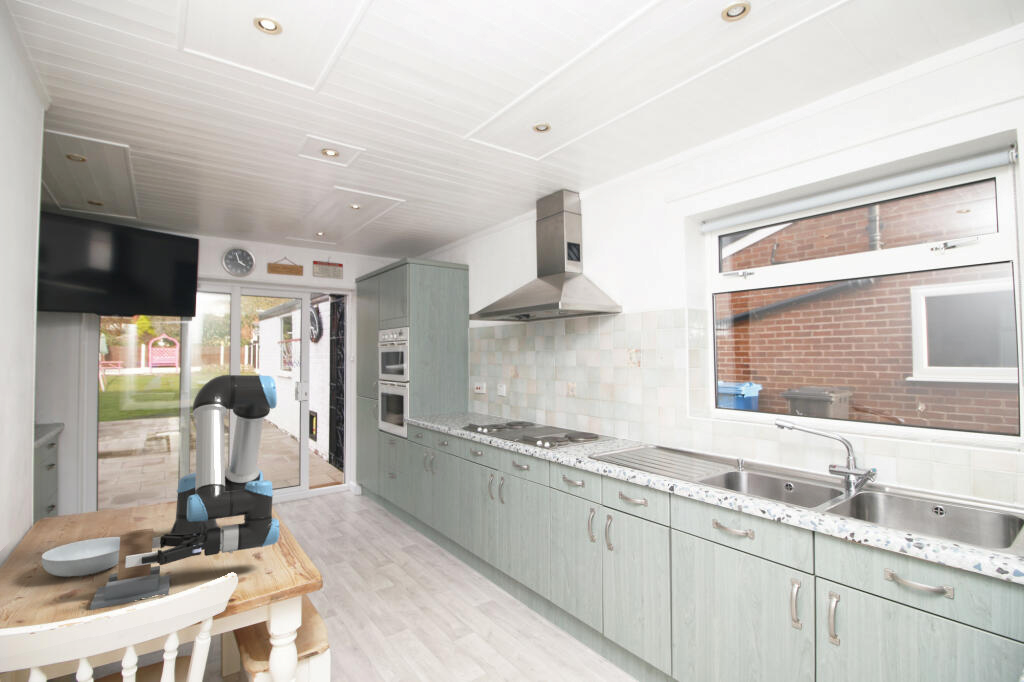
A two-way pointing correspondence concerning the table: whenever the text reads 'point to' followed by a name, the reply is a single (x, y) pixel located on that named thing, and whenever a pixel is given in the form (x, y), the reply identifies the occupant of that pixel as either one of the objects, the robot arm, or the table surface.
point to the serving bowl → (82, 557)
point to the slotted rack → (131, 589)
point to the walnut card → (134, 552)
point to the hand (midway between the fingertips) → (128, 553)
